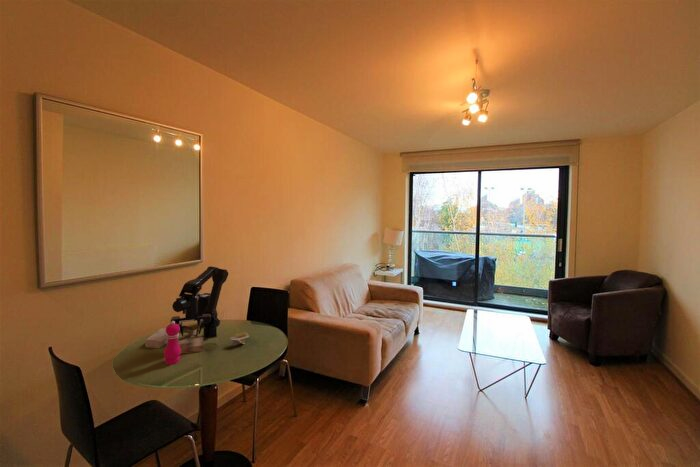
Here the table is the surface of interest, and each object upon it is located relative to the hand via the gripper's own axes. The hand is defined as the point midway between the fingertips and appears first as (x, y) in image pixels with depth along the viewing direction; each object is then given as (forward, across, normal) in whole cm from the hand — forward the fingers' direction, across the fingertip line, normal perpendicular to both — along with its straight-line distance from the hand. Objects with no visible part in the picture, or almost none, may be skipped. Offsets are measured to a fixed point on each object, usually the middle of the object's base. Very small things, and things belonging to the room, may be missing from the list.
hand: (191, 335), depth 169 cm
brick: (+7, +15, -13) cm, 21 cm away
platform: (+8, -24, +4) cm, 26 cm away
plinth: (+7, 0, 0) cm, 7 cm away
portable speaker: (+7, -7, -31) cm, 33 cm away
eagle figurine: (+2, +1, 0) cm, 2 cm away
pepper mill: (+7, +8, +14) cm, 17 cm away
